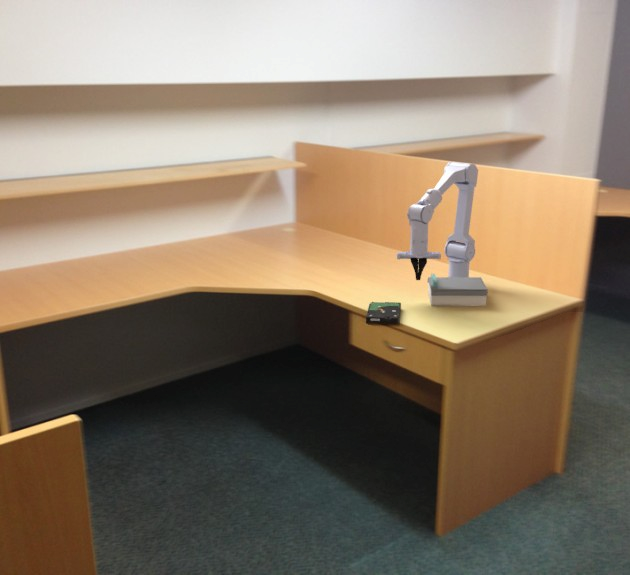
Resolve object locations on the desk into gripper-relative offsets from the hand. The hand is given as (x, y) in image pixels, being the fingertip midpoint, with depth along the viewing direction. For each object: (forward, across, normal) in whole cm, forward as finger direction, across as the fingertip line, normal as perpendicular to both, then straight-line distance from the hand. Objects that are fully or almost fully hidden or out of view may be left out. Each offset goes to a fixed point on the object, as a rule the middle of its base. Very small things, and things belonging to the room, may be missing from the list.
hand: (418, 279), depth 234 cm
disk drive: (+8, -12, -16) cm, 21 cm away
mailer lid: (+3, +13, 0) cm, 13 cm away
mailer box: (+7, +13, 0) cm, 15 cm away
